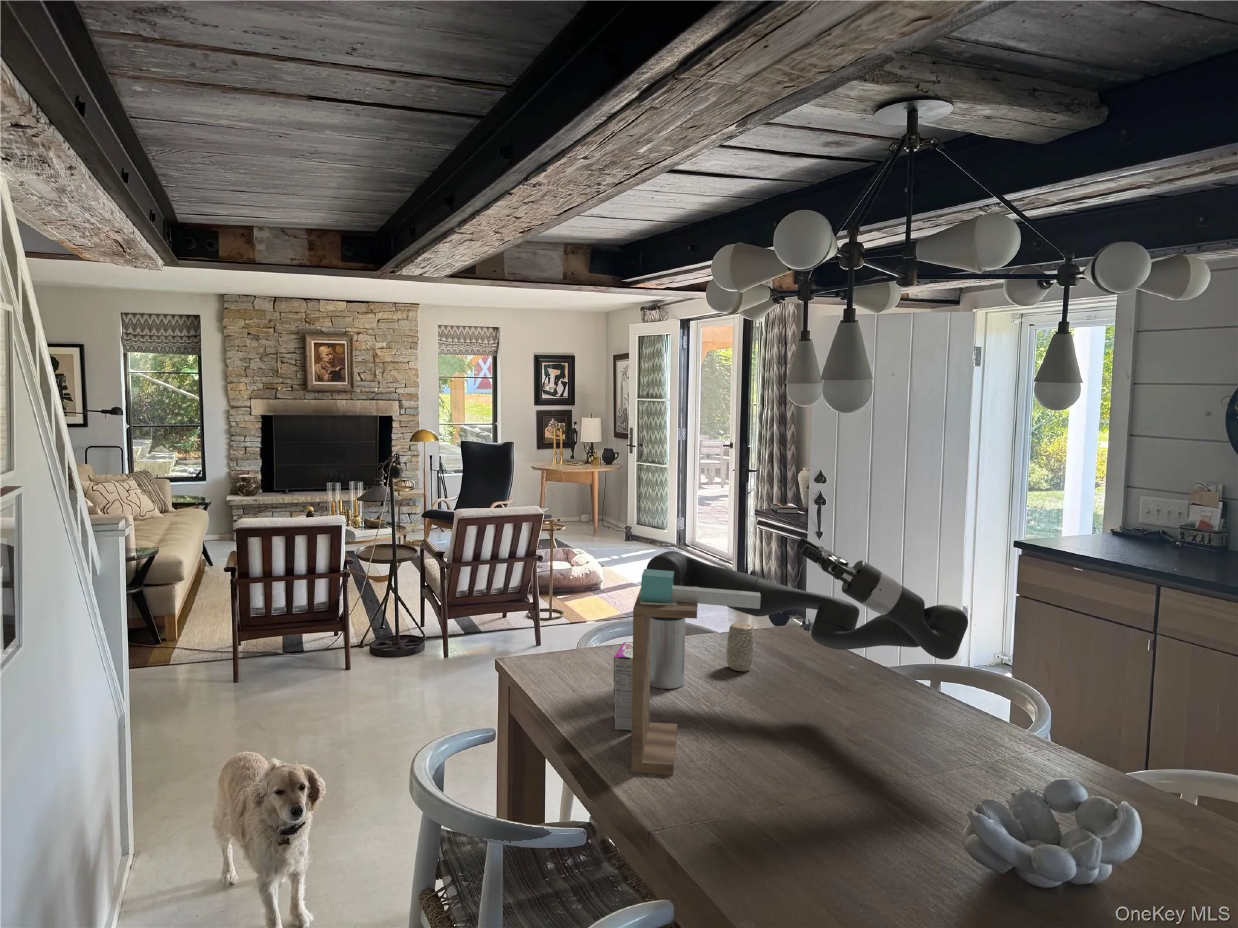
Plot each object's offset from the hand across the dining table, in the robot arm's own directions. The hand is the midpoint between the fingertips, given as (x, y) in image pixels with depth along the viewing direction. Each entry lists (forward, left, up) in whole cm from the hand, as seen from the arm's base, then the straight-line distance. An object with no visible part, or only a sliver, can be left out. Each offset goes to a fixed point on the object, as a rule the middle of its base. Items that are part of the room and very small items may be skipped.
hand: (800, 545), depth 165 cm
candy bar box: (-12, -35, -43) cm, 57 cm away
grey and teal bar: (+6, -20, -11) cm, 23 cm away
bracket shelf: (+3, -26, -43) cm, 50 cm away
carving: (-52, -9, -43) cm, 68 cm away
